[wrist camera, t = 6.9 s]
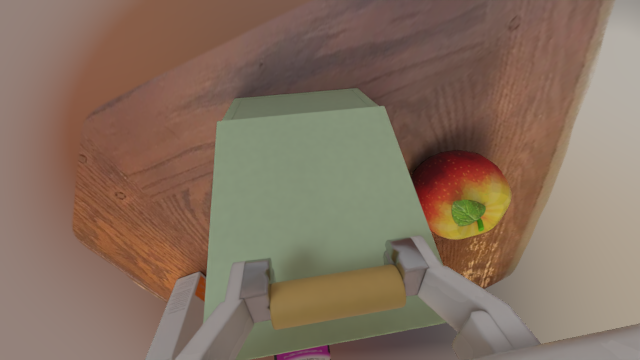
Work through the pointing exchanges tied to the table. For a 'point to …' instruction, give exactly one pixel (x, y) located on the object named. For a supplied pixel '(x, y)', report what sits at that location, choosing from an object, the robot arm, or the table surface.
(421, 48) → the table surface
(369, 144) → the lid
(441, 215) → the fruit
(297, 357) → the candy bar box
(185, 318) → the cosmetic box
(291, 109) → the chest
